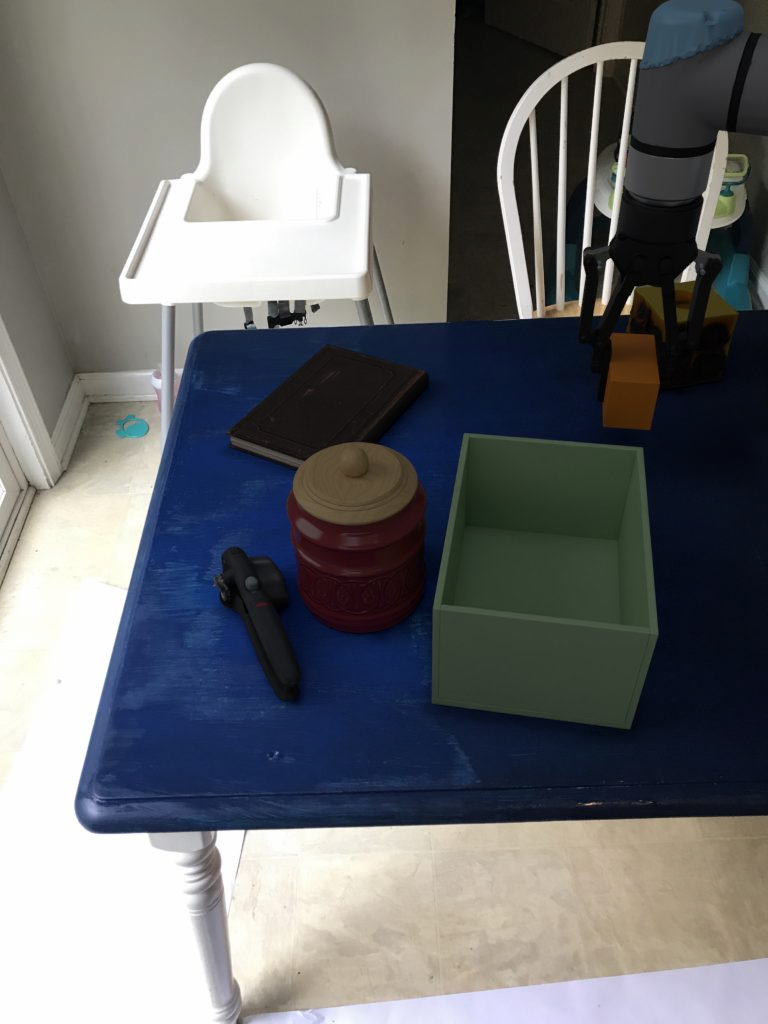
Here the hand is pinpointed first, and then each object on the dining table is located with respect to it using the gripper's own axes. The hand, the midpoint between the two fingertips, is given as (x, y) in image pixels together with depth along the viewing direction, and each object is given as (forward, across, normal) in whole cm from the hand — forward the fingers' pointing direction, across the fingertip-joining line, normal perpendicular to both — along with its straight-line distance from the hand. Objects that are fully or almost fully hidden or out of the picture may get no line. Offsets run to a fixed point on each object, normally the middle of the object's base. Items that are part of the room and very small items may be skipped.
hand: (625, 396), depth 94 cm
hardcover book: (+8, +35, -3) cm, 36 cm away
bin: (+8, +8, +27) cm, 29 cm away
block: (+1, 0, 0) cm, 1 cm away
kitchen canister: (+8, +26, +26) cm, 37 cm away
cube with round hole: (+8, -8, -20) cm, 23 cm away
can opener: (+8, +34, +33) cm, 48 cm away
